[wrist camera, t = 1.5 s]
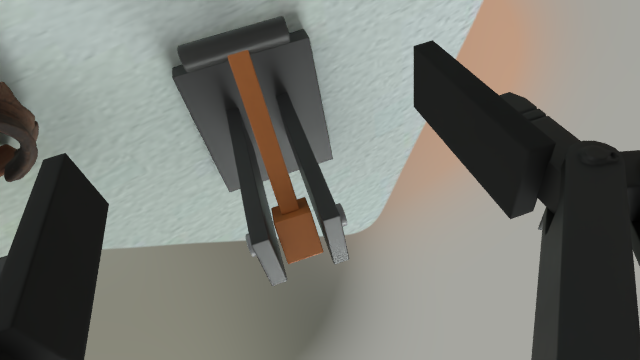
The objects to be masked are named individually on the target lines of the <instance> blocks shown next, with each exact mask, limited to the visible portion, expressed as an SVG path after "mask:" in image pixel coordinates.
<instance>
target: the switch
mask: <svg viewBox="0 0 640 360" xmlns="http://www.w3.org/2000/svg"><path fill="white" fill-rule="evenodd" d="M289 42H290V36H289V32H288V28H287V25H286V22H285V19H284V18H283V16H280V17H277V18H273V19H270V20H266V21H263V22H259V23H256V24H253V25H249V26H246V27H242V28H239V29H235V30H232V31H228V32H225V33H221V34H218V35H215V36H211V37H208V38H204V39H201V40H197V41H194V42H190V43H187V44H183V45H180V46H178V47H177V51H178V55H179V58H180V60H181V63H182V65H183V67H184V69H185V70H186V71H187V72H192V71H195V70H198V69H202V68H205V67H208V66H212V65H215V64H219V63H222V62H225V61H229V63H230V66H231V69H232V72H233V75H234V78H235V81H236V83H237V86H238V89H239V92H240V95H241V98H242V101H243V104H244V107H245V110H246V113H247V115H248V118H249V121H250V124H251V127H252V130H253V133H254V136H255V139H256V142H257V144H258V147H259V150H260V153H261V156H262V159H263V162H264V165H265V168H266V171H267V173H268V176H269V179H270V182H271V185H272V188H273V191H274V194H275V197H276V200H277V203H278V205H279V206H276V207H273V208H272V215H273V221H274V226H275V229H276V231H277V234H278V237H279V240H280V243H281V245H282V248H283V251H284V253H285V256H286V259H287V262H288V264H291V263H294V262H297V261H299V260H302V259H305V258H308V257H311V256H314V255H317V254H320V253H323V249H322V245H321V242H320V239H319V236H318V233H317V229H316V226H315V223H314V220H313V217H312V213H311V211H310V208H309V206H308V203H307V201H306V198H305V197H304V198H301V199H296V196H295V193H294V190H293V187H292V183H291V180H290V177H289V174H288V171H287V168H286V165H285V162H284V159H283V156H282V153H281V150H280V146H279V143H278V140H277V137H276V134H275V131H274V128H273V125H272V122H271V119H270V116H269V113H268V109H267V106H266V103H265V100H264V97H263V94H262V91H261V88H260V85H259V82H258V79H257V76H256V72H255V69H254V66H253V63H252V60H251V57H250V54H252V53H256V52H259V51H263V50H266V49H269V48H273V47H276V46H279V45H283V44H286V43H289Z"/></svg>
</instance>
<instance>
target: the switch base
mask: <svg viewBox="0 0 640 360" xmlns="http://www.w3.org/2000/svg"><path fill="white" fill-rule="evenodd" d="M289 36H290V42H289V43H286V44H283V45H279V46H276V47H273V48H269V49H266V50H263V51H259V52H256V53H252V54H250V57H251V60H252V63H253V66H254V69H255V72H256V76H257V79H258V82H259V85H260V88H261V91H262V94H263V97H264V100H265V103H266V106H267V109H268V113H269V116H270V119H271V122H272V125H273V128H274V131H275V134H276V137H277V140H278V143H279V146H280V150H281V153H282V156H283V159H284V162H285V165H286V168H287V171H288V173H291V172H294V171H297V170H300V173H301V176H302V178H303V181H304V184H305V187H306V189H307V192H308V195H309V197H310V200H311V203H312V206H313V208H314V211H315V214H316V217H317V219H318V222H319V225H320V227H321V230H322V233H323V236H324V238H325V241H326V243H327V246H328V249H329V252H330V255H331V257H332V260H333V263H334V264H337V263H340V262H343V261H346V260H349V256H348V251H347V246H346V241H345V236H344V232H343V226H346V225H347V220H346V216H345V213H344V210H343V208H342V206H341V204H340V203H339V204H336V205H335V202H334V200H333V198H332V195H331V193H330V191H329V188H328V186H327V184H326V181H325V179H324V176H323V174H322V172H321V169H320V167H319V165H318V163H322V162H325V161H328V160H331V159H333V157H332V152H331V146H330V141H329V136H328V131H327V126H326V121H325V116H324V111H323V106H322V101H321V96H320V91H319V86H318V81H317V76H316V71H315V66H314V60H313V55H312V50H311V45H310V40H309V37H308V35H307V34H306V32H305V30H300V31H297V32H293V33H290V34H289ZM173 80H174V82H175V84H176V86H177V88H178V90H179V92H180V94H181V96H182V98H183V100H184V102H185V104H186V106H187V108H188V110H189V112H190V114H191V116H192V118H193V120H194V122H195V124H196V126H197V128H198V130H199V132H200V134H201V136H202V138H203V140H204V142H205V144H206V146H207V148H208V150H209V152H210V154H211V156H212V158H213V160H214V162H215V164H216V166H217V168H218V170H219V172H220V174H221V176H222V178H223V180H224V182H225V184H226V186H227V188H228V190H229V192H232V191H235V190H238V189H241V194H242V200H243V205H244V210H245V216H246V221H247V226H248V231H249V234H246V242H247V245H248V249H249V251H250V253H251V255H252V256H257V258H258V259H259V261H260V263H261V265H262V267H263V269H264V271H265V273H266V275H267V277H268V279H269V281H270V283H271V285H273V286H274V285H276V284H279V283H282V282H285V281H287V276H286V273H285V269H284V265H283V261H282V257H281V253H280V249H279V245H278V241H277V237H276V233H275V229H274V225H273V221H272V217H271V213H270V210H269V206H268V202H267V198H266V194H265V190H264V186H263V181H266V180H269V176H268V173H267V171H266V168H265V165H264V162H263V159H262V156H261V153H260V150H259V147H258V144H257V142H256V139H255V136H254V133H253V130H252V127H251V124H250V121H249V118H248V115H247V113H246V110H245V107H244V104H243V101H242V98H241V95H240V92H239V89H238V86H237V83H236V81H235V78H234V75H233V72H232V69H231V66H230V63H229V61H225V62H222V63H219V64H215V65H212V66H208V67H205V68H202V69H198V70H195V71H192V72H187V71H186V70H185V69H184V67H183V65H181V66H178V67H174V68H173Z"/></svg>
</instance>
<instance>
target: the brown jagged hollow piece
mask: <svg viewBox="0 0 640 360" xmlns="http://www.w3.org/2000/svg"><path fill="white" fill-rule="evenodd" d="M38 130H39V126H38V122H36V121H35V116H34V115H33V114H32V113H31V112H30V111H29V110H27V109H26V108H25V107H24V106H23V105H22V104H21V103H20V102H19V101H18V100H17V98H16V97H15V96H14V95H13V93H12V91H11V90H10V88H9V87H8V86H7V85H6V84H5V83H4V82H0V132H1V133H4V134H6V135H8V136H11V137H13V138H14V139H16V140H17V141H18V142H19V143H20V148H19V149H18V150H17V149H15V148H13V147H12V146H10V145H8V144H4V145H2V146H0V177H1V176H3V175H4V177H5V180H6V181H7V182H12V181H15V180H19V179H21V178H23V177H24V176H25V175H26V174H27V173H28V172H29V171H30V169H31V168H32V166H33V165H34V164H35V162H36V159H37V157H38V149H37V147H36V146H37V145H36V140H37V137H38Z"/></svg>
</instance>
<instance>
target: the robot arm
mask: <svg viewBox="0 0 640 360" xmlns="http://www.w3.org/2000/svg"><path fill="white" fill-rule="evenodd" d="M414 107H415V109H416V110H417V111H418V112H419V113H420V114H421V116H422V117H423V118H424V119H425V120H426V121H427V123H428V124H429V125H430V126H431V127H432V128H433V130H434V131H435V132H436V133H437V134H438V135H439V137H440V138H441V139H442V140H443V141H444V142H445V144H446V145H447V146H448V147H449V148H450V149H451V151H452V152H453V153H454V154H455V155H456V156H457V157H458V159H459V160H460V161H461V162H462V163H463V165H464V166H466V168H467V169H468V170H469V172H470V173H471V174H472V175H473V176H474V177H475V178H476V180H477V181H478V182H479V183H480V184H481V185H482V187H483V188H484V189H485V190H486V191H487V192H488V194H489V195H490V196H491V197H492V198H493V199H494V201H495V202H496V203H497V204H498V205H499V206H500V208H501V209H502V210H503V211H504V212H505V213H506V215H507V216H508V217H509V218H510V219H512V218H515V217H518V216H521V215H524V214H526V213H529V212H532V211H533V210H534V207H535V204H536V201H537V198H538V199H539V200H540V201H541V202H542V203H543V204H544V205H545V206H546V209H545V212H544V214H543V217H542V220H541V222H540V225H539V228H538V229H540V230H542V241H541V252H540V264H539V277H538V288H537V299H536V300H537V301H536V312H535V323H534V336H533V347H532V359H531V360H640V328H639V317H638V306H637V295H636V284H635V272H634V261H633V252H634V254H635V256H636V259H637V261H638V263H639V266H640V150H637V151H623V152H619V151H618V150H617V149H615V148H614V147H612V146H609V145H607V144H605V143H601V142H597V141H580V140H578V139H577V138H576V137H575V136H573V135H572V134H571V133H570V132H568V131H567V130H566V129H564V128H563V127H562V126H560V125H559V124H558V123H557V122H555V121H554V120H553V119H551V118H550V117H549V116H546V114H545V113H544V112H543V111H541V110H540V109H537V107H536V106H535V105H534V104H532V103H531V102H530V101H528V100H527V99H526V98H524V97H521V96H518V95H516V94H513V93H511V92H508V93H505V94H502V95H498V94H497V93H495V92H494V91H493V90H492V89H490V88H489V87H488V86H487V85H486V84H484V83H483V82H482V81H481V80H480V79H478V78H477V77H476V76H475V75H473V74H472V73H471V72H470V71H469V70H468V69H466V68H465V67H464V66H463V65H462V64H460V63H459V62H458V61H457V60H456V59H454V58H453V57H452V56H451V55H450V54H448V53H447V52H446V51H445V50H444V49H442V48H441V47H440V46H439V45H437V44H436V43H435V42H434V41H433V40H432V41H429V42H426V43H423V44H419V45H416V46H414ZM108 206H109V204H108V203H107V201H106V200H105V199H104V198H103V197H102V195H101V194H100V193H99V192H98V191H97V190H96V188H95V187H94V186H93V185H92V184H91V183H90V181H89V180H88V179H87V178H86V177H85V175H84V174H83V173H82V172H81V171H80V170H79V168H78V167H77V166H76V165H75V164H74V162H73V161H72V160H71V159H70V158H69V157H68V155H67V154H66V153H64V154H60V155H57V156H54V157H51V158H47V159H44V160H43V162H42V165H41V168H40V170H39V173H38V176H37V178H36V181H35V184H34V186H33V189H32V192H31V194H30V197H29V200H28V202H27V205H26V208H25V210H24V213H23V216H22V218H21V221H20V224H19V226H18V229H17V232H16V234H15V237H14V240H13V242H12V245H11V248H10V250H9V253H8V256H4V257H1V258H0V360H84V356H85V350H86V344H87V338H88V331H89V325H90V319H91V313H92V306H93V300H94V294H95V287H96V281H97V275H98V268H99V262H100V256H101V250H102V244H103V237H104V231H105V225H106V219H107V212H108ZM632 249H633V250H632Z"/></svg>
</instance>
